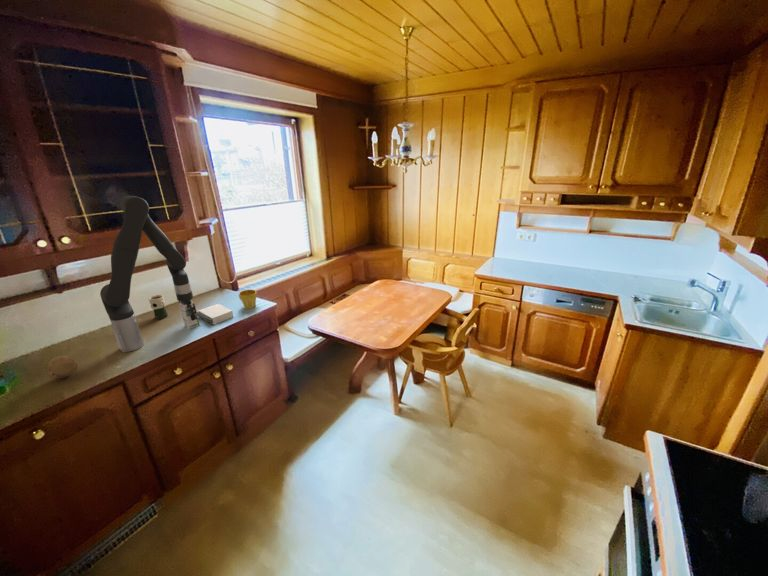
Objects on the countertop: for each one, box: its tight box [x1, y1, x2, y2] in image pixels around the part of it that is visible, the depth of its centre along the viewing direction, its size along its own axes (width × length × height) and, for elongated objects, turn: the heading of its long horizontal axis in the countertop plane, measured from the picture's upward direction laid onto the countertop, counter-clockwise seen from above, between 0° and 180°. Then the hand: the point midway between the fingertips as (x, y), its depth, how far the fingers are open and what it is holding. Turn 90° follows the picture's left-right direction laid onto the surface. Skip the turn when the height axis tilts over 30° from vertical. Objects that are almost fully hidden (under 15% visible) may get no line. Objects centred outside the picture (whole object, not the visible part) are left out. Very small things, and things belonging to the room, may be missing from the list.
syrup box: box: [178, 300, 200, 330], centre depth 175 cm, size 6×6×14 cm
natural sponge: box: [46, 355, 79, 379], centre depth 134 cm, size 9×9×10 cm
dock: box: [196, 303, 234, 325], centre depth 187 cm, size 13×16×4 cm
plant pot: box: [238, 289, 258, 309], centre depth 200 cm, size 10×10×10 cm
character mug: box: [148, 294, 168, 320], centre depth 184 cm, size 11×7×13 cm, turn 68°
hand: (190, 317), depth 176 cm, fingers open, 8 cm apart
